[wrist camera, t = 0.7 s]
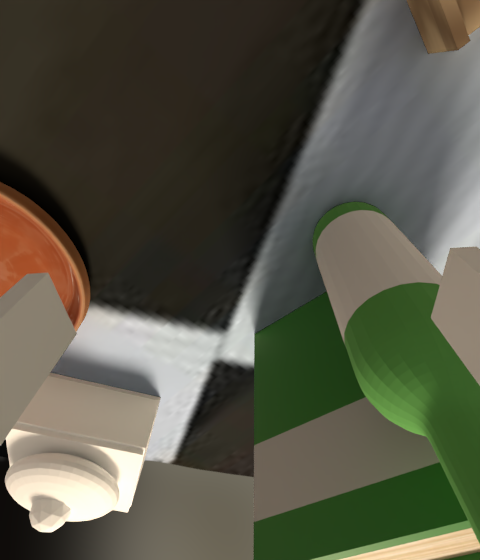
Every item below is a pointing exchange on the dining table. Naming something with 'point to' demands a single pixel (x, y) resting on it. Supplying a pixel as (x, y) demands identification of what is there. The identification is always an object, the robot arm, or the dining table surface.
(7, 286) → the saucer
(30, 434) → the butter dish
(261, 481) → the hardback book
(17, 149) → the dining table surface
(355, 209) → the wine bottle
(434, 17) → the wooden tray
